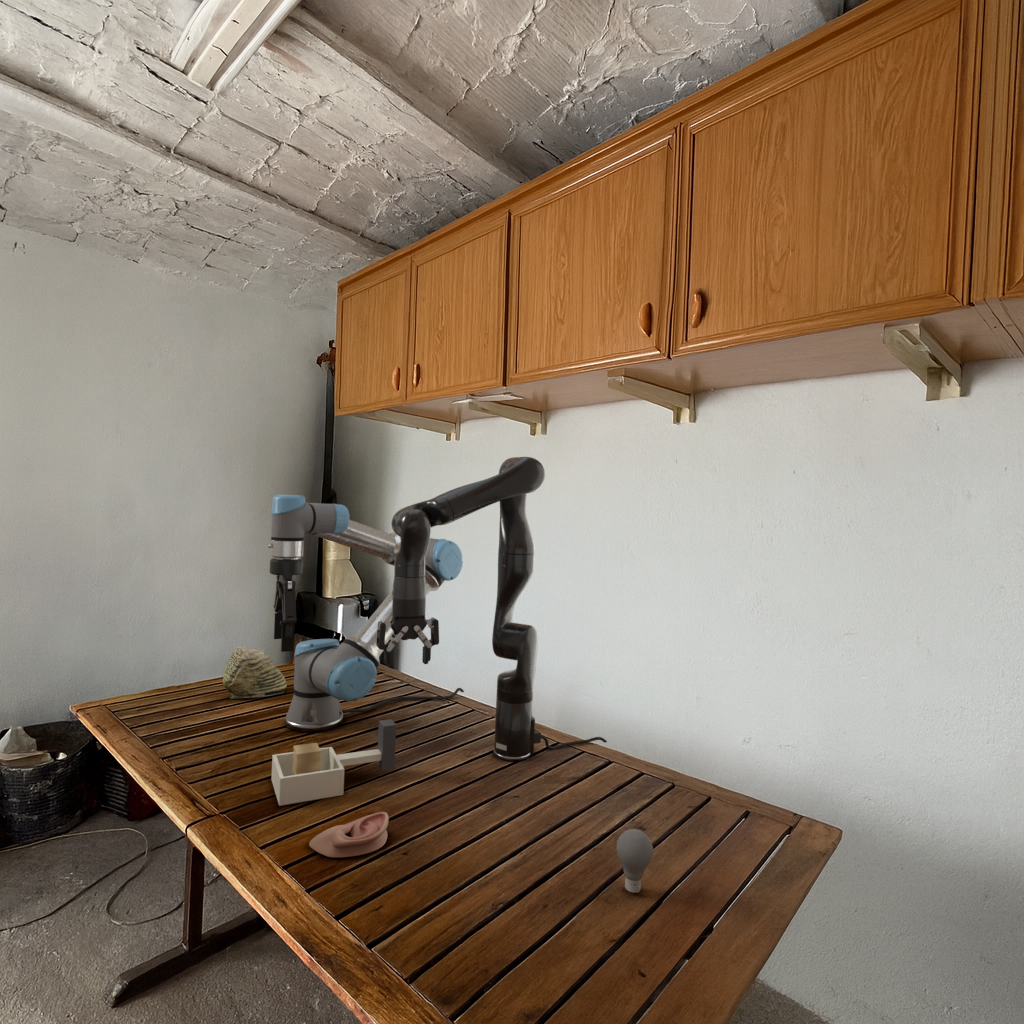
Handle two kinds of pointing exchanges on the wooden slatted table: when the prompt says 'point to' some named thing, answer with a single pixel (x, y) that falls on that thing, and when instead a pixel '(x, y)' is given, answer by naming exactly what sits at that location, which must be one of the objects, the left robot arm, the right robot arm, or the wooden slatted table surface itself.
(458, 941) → the wooden slatted table surface
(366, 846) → the anatomical model
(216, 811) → the wooden slatted table surface
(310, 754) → the birch block
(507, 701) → the right robot arm
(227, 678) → the fossil
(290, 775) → the handled bin
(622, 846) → the light bulb
